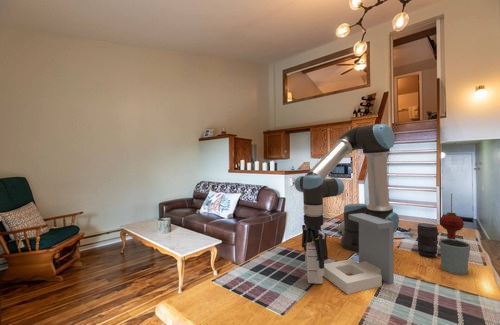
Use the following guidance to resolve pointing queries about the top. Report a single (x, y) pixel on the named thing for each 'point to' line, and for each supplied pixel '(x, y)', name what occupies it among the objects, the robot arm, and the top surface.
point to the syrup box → (312, 264)
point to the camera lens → (427, 240)
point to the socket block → (366, 257)
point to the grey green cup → (454, 256)
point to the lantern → (451, 223)
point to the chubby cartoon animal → (341, 227)
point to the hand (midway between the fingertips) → (314, 270)
